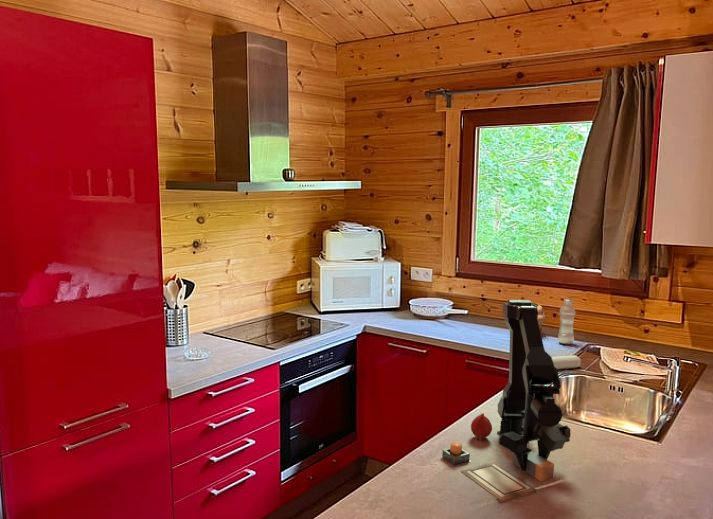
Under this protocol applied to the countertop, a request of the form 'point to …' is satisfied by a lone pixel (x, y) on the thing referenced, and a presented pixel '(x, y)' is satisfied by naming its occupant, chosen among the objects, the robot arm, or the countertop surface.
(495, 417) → the countertop surface
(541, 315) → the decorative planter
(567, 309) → the plastic bottle
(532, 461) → the grey orange block
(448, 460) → the button collar
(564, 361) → the tube
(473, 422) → the onion
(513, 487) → the picture frame
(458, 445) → the button
